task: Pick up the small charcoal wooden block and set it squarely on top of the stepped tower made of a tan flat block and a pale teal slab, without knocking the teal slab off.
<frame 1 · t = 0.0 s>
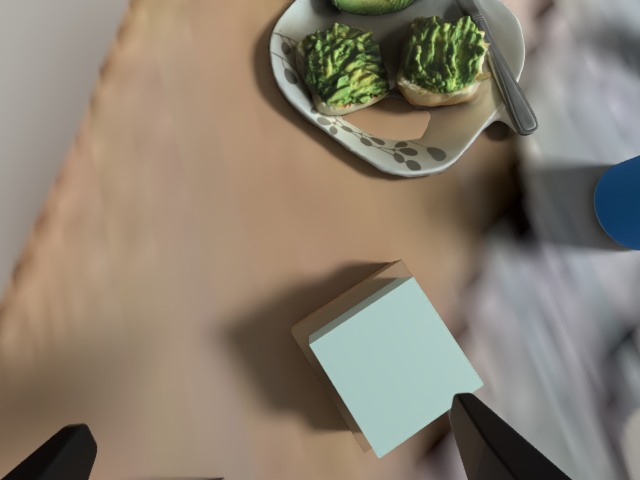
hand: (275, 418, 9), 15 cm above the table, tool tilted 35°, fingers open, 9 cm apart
teal slab: (383, 352, 20), point 3 cm above the table, touching tan flat block
salad plate: (391, 58, 27), on the table
beverage can: (625, 208, 25), on the table
tan flat block: (374, 343, 23), on the table
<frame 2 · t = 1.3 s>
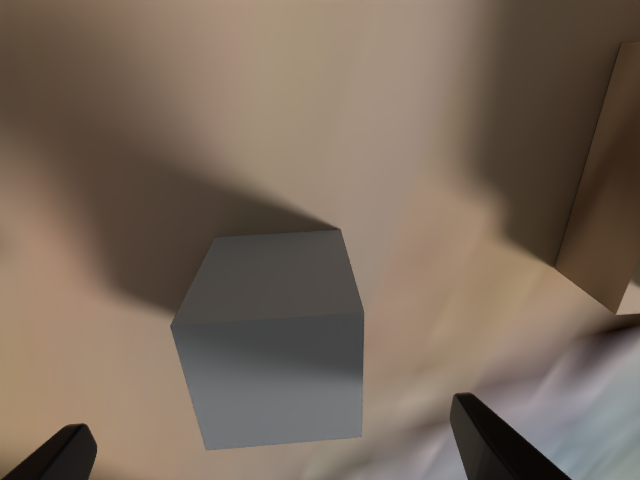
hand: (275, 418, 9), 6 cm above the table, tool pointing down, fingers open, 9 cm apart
charcoal block: (283, 285, 14), on the table
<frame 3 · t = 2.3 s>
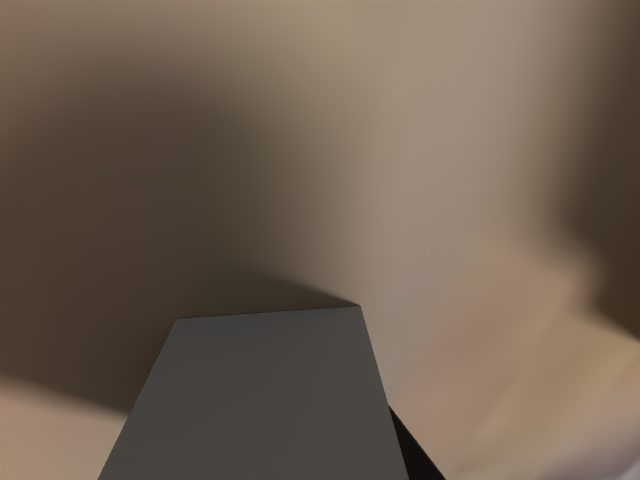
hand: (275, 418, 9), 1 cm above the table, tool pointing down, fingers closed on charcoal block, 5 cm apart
charcoal block: (277, 378, 10), on the table, touching gripper
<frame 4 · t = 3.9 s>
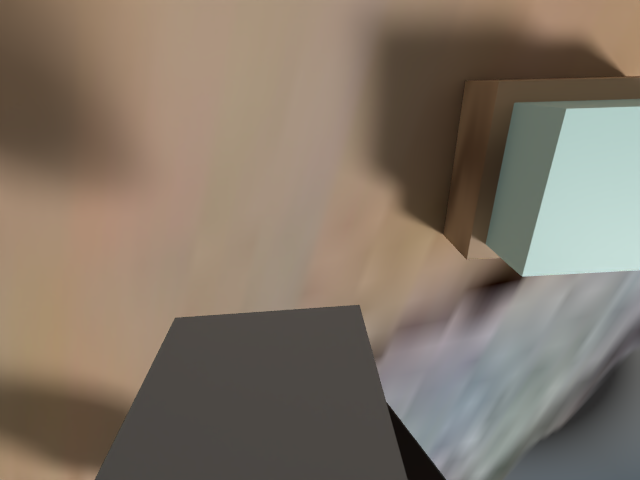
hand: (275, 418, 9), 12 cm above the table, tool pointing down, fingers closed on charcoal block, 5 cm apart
teal slab: (567, 176, 16), point 3 cm above the table, touching tan flat block
charcoal block: (276, 378, 10), point 10 cm above the table, touching gripper
tan flat block: (527, 162, 18), on the table
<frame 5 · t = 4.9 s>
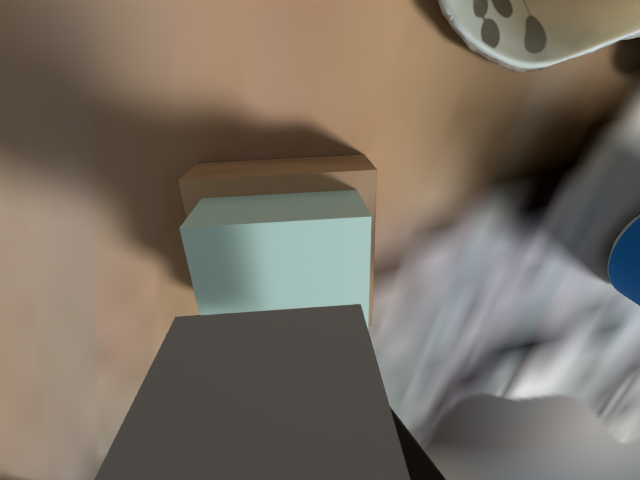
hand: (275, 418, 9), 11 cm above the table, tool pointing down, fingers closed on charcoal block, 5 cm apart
teal slab: (286, 261, 16), point 3 cm above the table, touching tan flat block
charcoal block: (277, 377, 10), point 10 cm above the table, touching gripper
tan flat block: (287, 234, 18), on the table
when the fingers open (8 cm above the table, at t = 5.7 s): charcoal block stays where it is, resting on teal slab.
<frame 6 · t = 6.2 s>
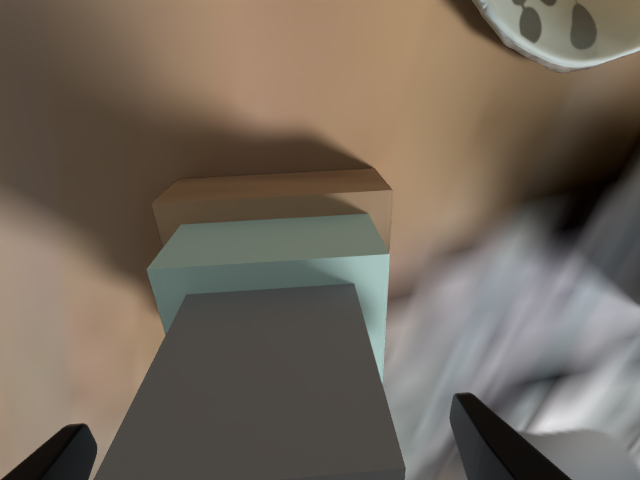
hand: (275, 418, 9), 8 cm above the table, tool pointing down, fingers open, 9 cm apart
teal slab: (283, 296, 13), point 3 cm above the table, touching charcoal block, tan flat block
charcoal block: (278, 352, 10), point 6 cm above the table, touching teal slab
tan flat block: (285, 258, 16), on the table
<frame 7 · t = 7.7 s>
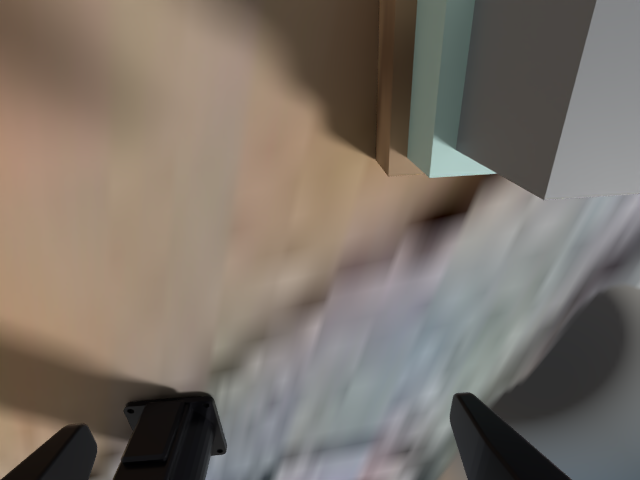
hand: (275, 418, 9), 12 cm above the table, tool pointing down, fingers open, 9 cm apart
teal slab: (491, 73, 14), point 3 cm above the table, touching charcoal block, tan flat block
charcoal block: (535, 74, 11), point 6 cm above the table, touching teal slab
tan flat block: (460, 71, 17), on the table
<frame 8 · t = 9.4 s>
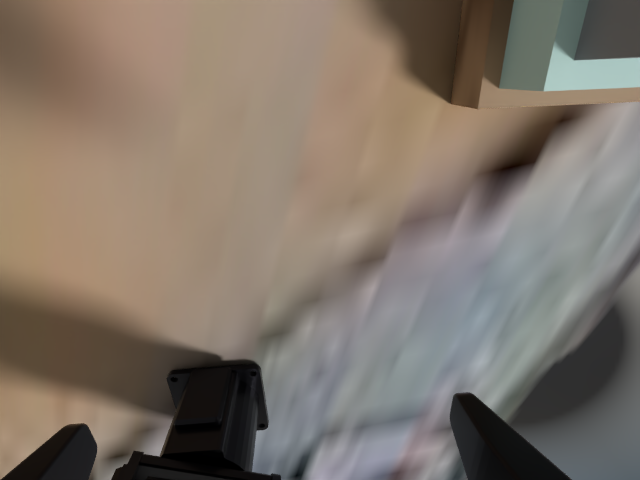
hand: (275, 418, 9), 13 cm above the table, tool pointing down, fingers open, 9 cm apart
tan flat block: (543, 10, 16), on the table
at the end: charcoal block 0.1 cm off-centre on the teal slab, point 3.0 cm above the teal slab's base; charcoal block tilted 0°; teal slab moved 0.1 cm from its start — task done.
